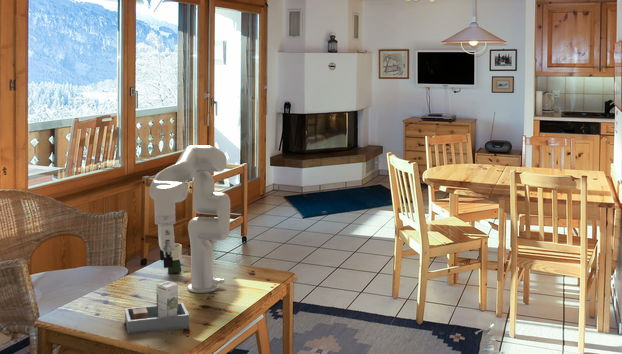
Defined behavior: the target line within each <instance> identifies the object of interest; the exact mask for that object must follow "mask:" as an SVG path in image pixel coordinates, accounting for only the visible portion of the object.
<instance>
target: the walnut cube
mask: <svg viewBox="0 0 622 354" xmlns="http://www.w3.org/2000/svg"><path fill="white" fill-rule="evenodd" d="M146 318H148V312H147V309H146V308H140V309H133V320H137V319H146Z"/></svg>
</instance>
